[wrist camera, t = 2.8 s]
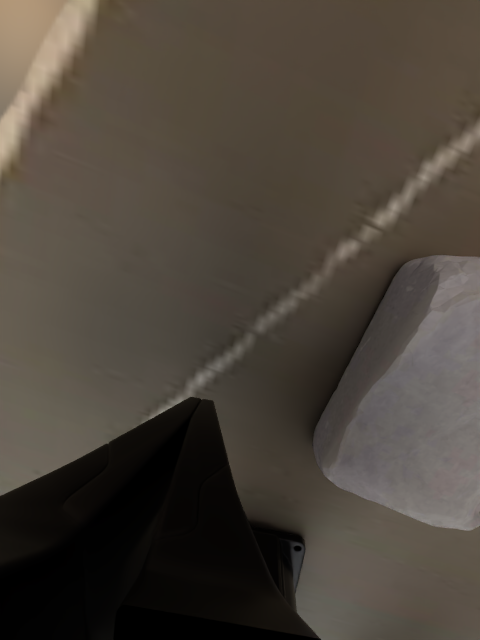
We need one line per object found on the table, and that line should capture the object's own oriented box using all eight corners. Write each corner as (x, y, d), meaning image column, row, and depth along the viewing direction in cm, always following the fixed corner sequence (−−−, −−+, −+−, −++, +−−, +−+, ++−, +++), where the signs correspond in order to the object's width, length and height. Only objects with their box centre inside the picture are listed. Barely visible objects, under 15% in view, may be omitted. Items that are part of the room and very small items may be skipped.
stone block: (538, 306, 13) (390, 241, 11) (712, 340, 8) (509, 240, 7) (421, 464, 16) (291, 434, 14) (502, 552, 12) (326, 524, 10)
